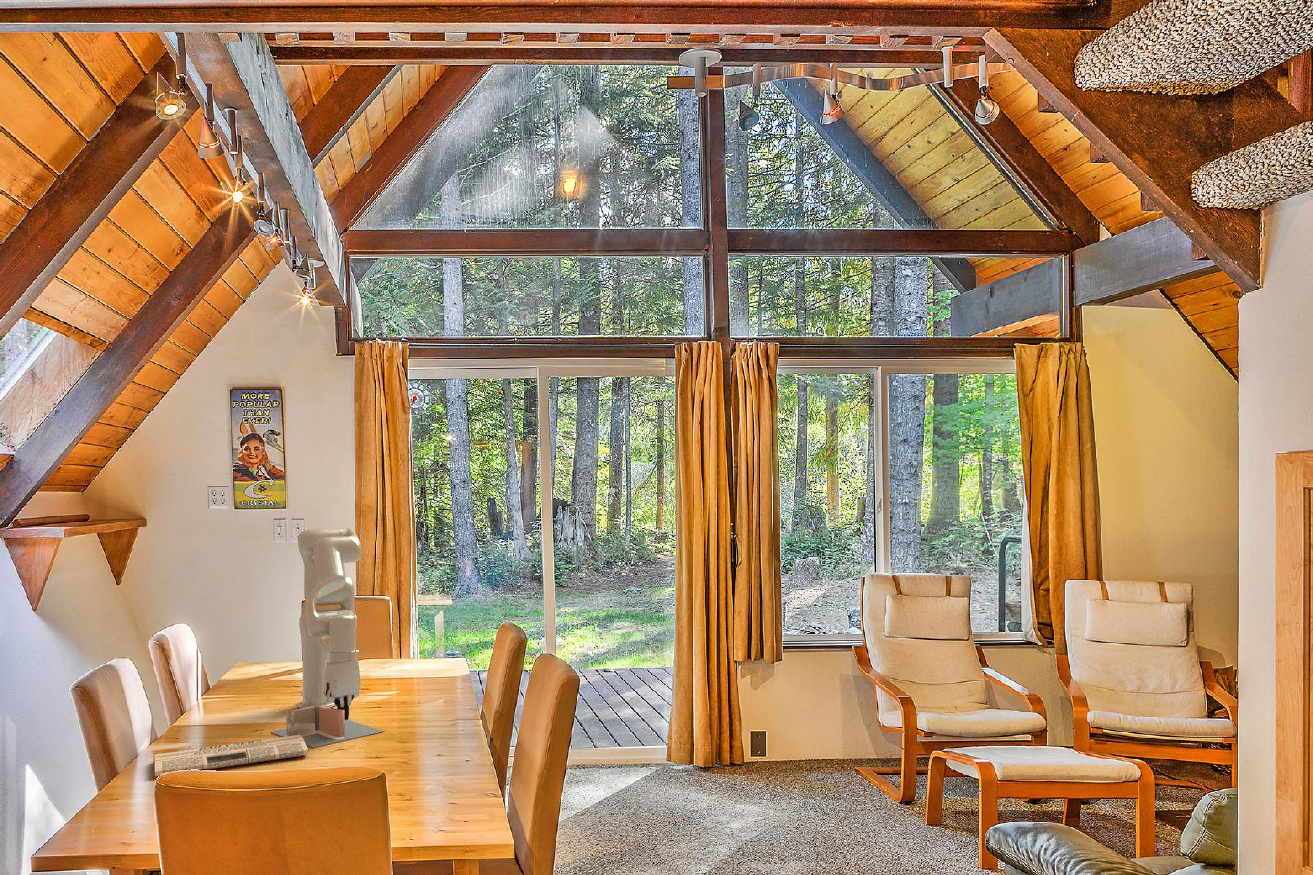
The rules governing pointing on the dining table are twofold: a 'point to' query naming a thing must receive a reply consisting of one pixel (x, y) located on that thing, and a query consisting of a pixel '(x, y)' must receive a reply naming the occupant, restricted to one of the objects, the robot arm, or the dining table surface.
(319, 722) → the fence panel
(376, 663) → the dining table surface
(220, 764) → the newspaper
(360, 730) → the card
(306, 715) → the fence fixed
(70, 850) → the dining table surface
